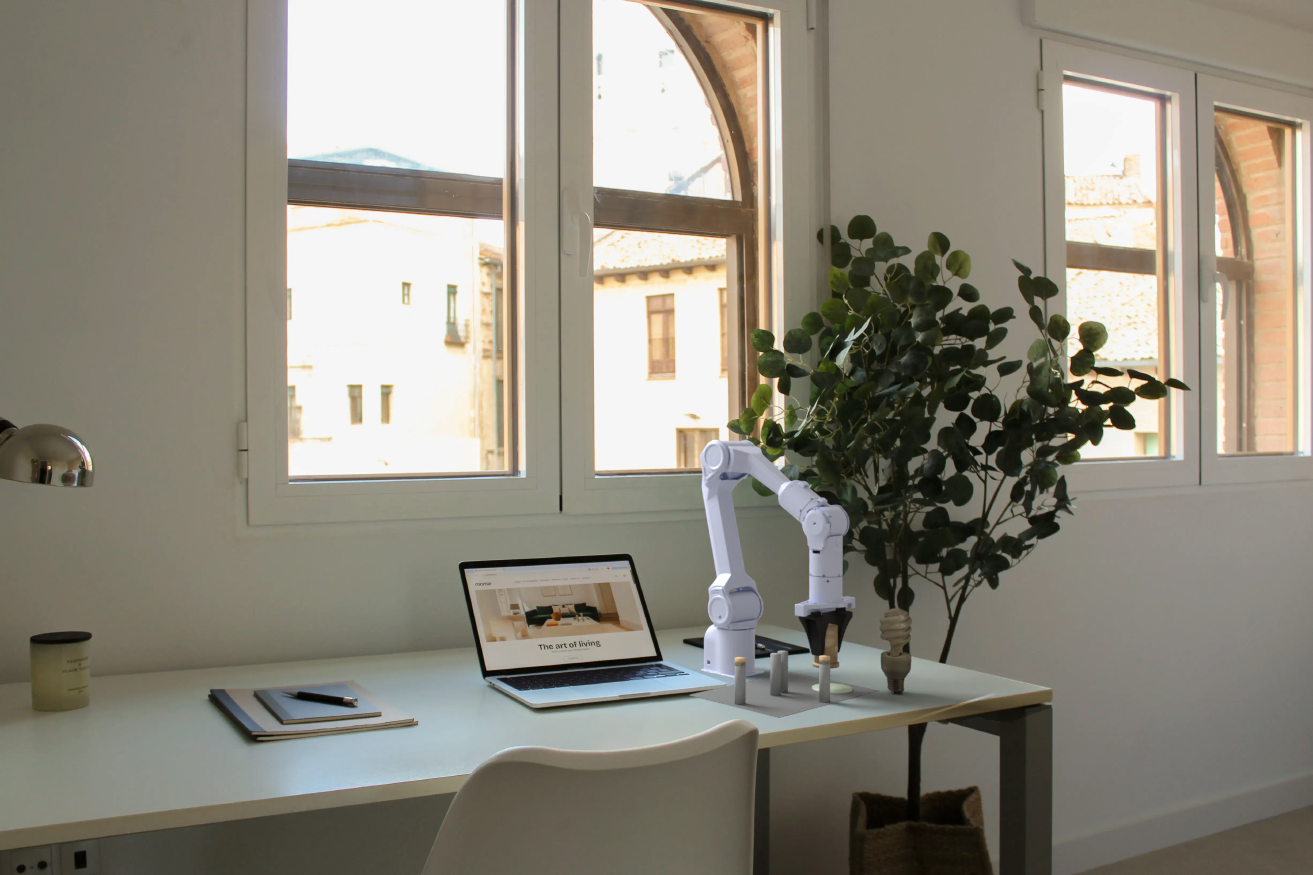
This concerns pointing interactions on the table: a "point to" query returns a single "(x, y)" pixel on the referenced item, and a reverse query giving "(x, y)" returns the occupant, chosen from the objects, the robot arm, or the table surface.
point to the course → (780, 689)
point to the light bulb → (896, 648)
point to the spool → (830, 647)
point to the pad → (835, 688)
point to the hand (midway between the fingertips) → (825, 653)
